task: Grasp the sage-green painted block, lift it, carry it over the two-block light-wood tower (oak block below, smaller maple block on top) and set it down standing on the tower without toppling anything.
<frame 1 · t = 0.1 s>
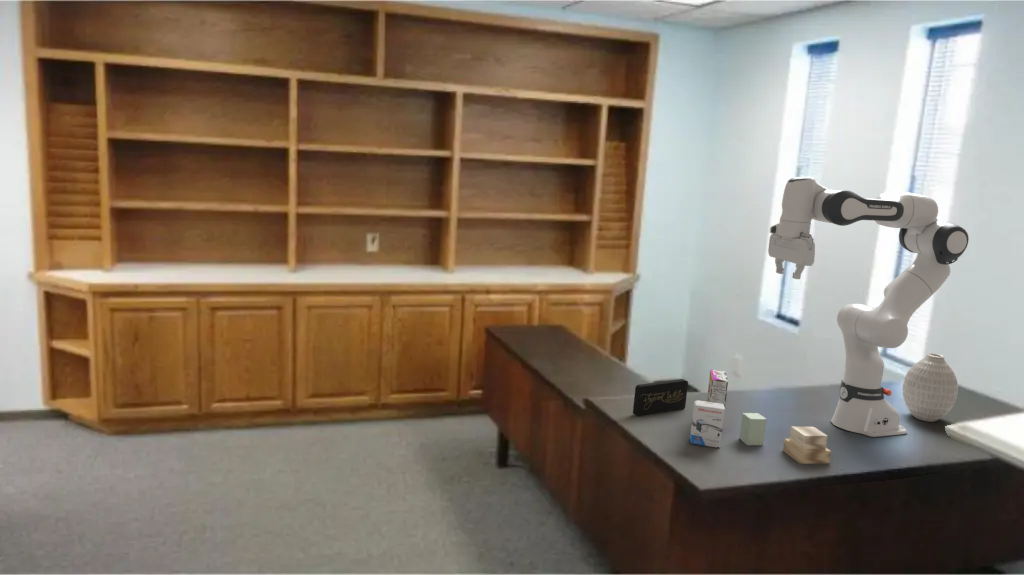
hand: (787, 276, 224), 48 cm above the table, fingers open, 8 cm apart
vase: (924, 418, 252), on the table
sage block: (751, 441, 218), on the table
candy bar box: (712, 426, 229), on the table
maple block: (807, 444, 209), point 4 cm above the table, touching oak block
oak block: (805, 458, 209), on the table, touching maple block
nameplate: (659, 412, 239), on the table
ink box: (704, 443, 214), on the table
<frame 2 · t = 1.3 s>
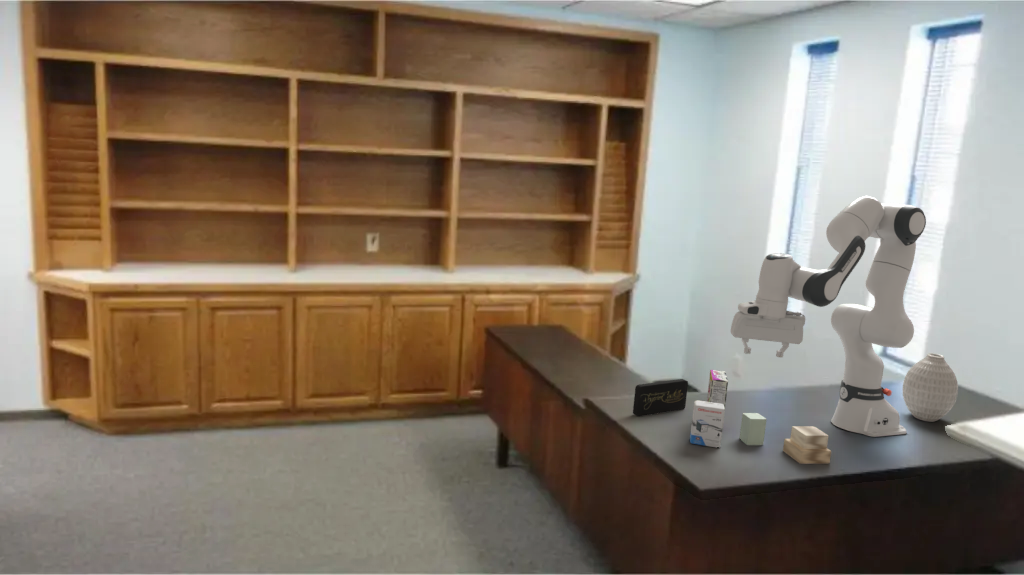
hand: (763, 355, 216), 26 cm above the table, fingers open, 8 cm apart
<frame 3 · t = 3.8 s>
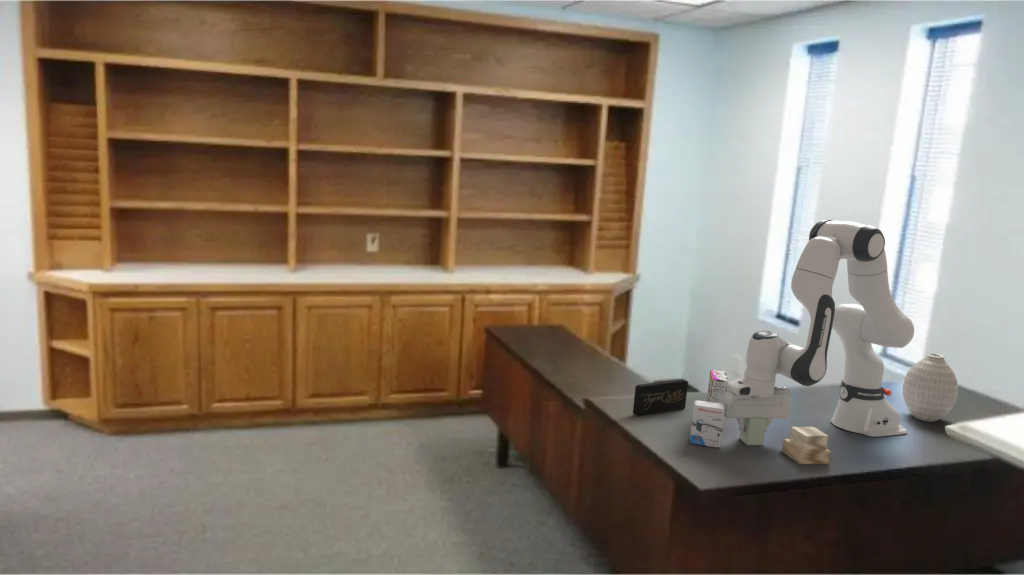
hand: (752, 431, 217), 3 cm above the table, fingers closed on sage block, 5 cm apart
sage block: (751, 441, 218), on the table, touching gripper
maple block: (807, 444, 208), point 4 cm above the table
oak block: (804, 458, 209), on the table
everything else where it was.
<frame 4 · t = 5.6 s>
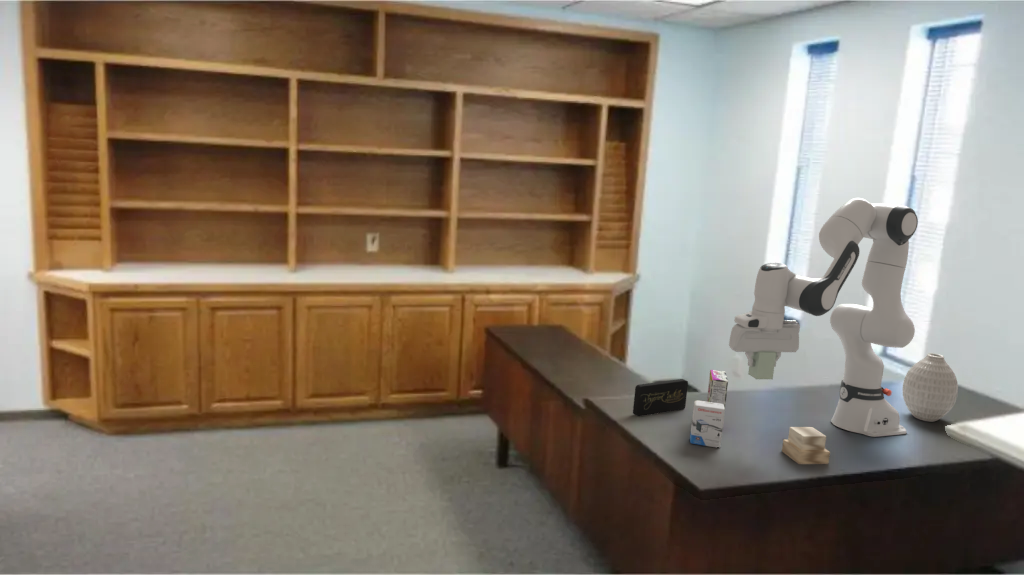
hand: (761, 366, 214), 23 cm above the table, fingers closed on sage block, 5 cm apart
sage block: (760, 376, 214), point 20 cm above the table, touching gripper
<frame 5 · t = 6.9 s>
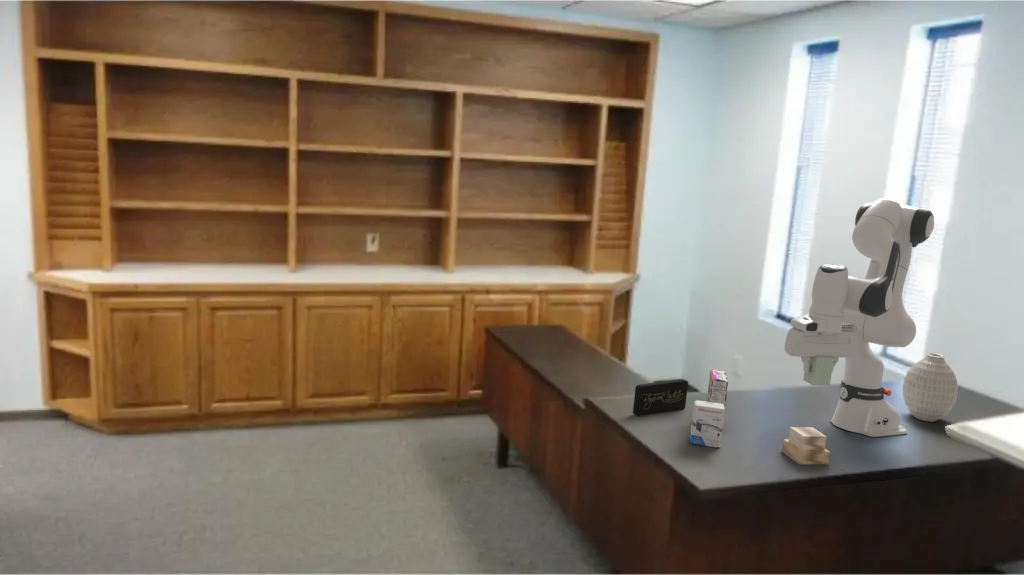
hand: (817, 371, 205), 25 cm above the table, fingers closed on sage block, 5 cm apart
sage block: (816, 382, 205), point 22 cm above the table, touching gripper
maple block: (806, 445, 208), point 4 cm above the table, touching oak block
oak block: (804, 458, 209), on the table, touching maple block
everything else where it was.
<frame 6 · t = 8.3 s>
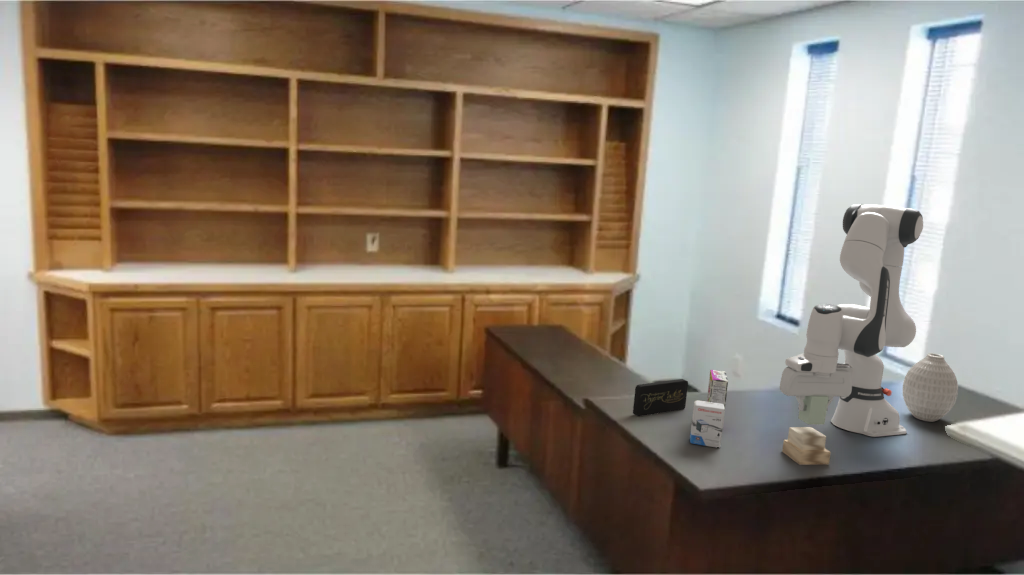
hand: (812, 410, 207), 14 cm above the table, fingers closed on sage block, 5 cm apart
sage block: (811, 421, 207), point 11 cm above the table, touching gripper
everything else where it was.
when the fingers open (12 cm above the table, at t = 9.0 s): sage block drops 1 cm, resting on maple block.
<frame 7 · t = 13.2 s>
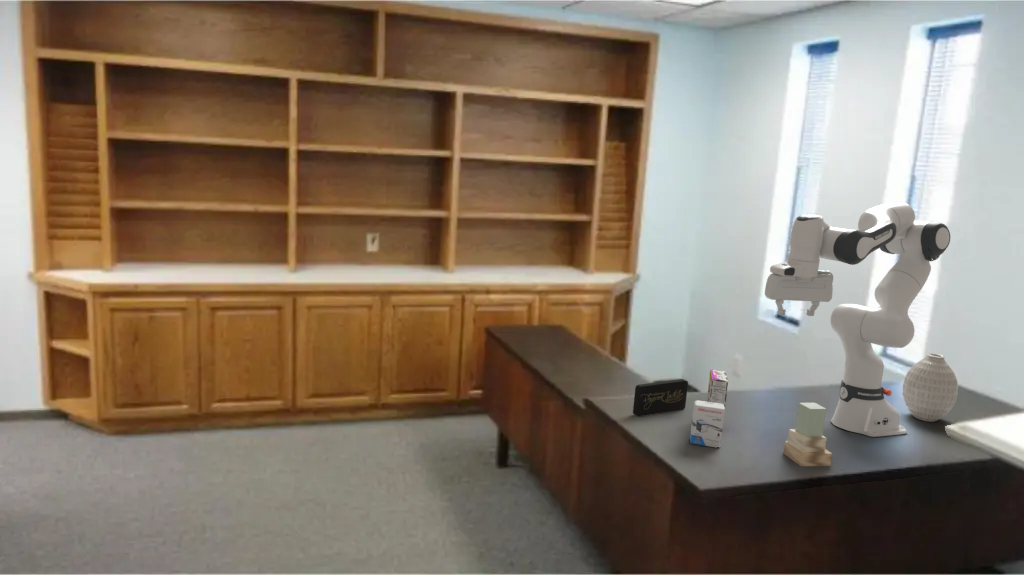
hand: (795, 315, 220), 37 cm above the table, fingers open, 8 cm apart
sage block: (808, 433, 206), point 8 cm above the table, touching maple block
maple block: (805, 447, 207), point 4 cm above the table, touching oak block, sage block
oak block: (806, 460, 207), on the table, touching maple block
everything else where it was.
at the end: sage block 0.4 cm off-centre on the maple block, point 4.0 cm above the maple block's base; sage block tilted 1°; maple block 0.6 cm off-centre on the oak block, point 4.0 cm above the oak block's base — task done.
